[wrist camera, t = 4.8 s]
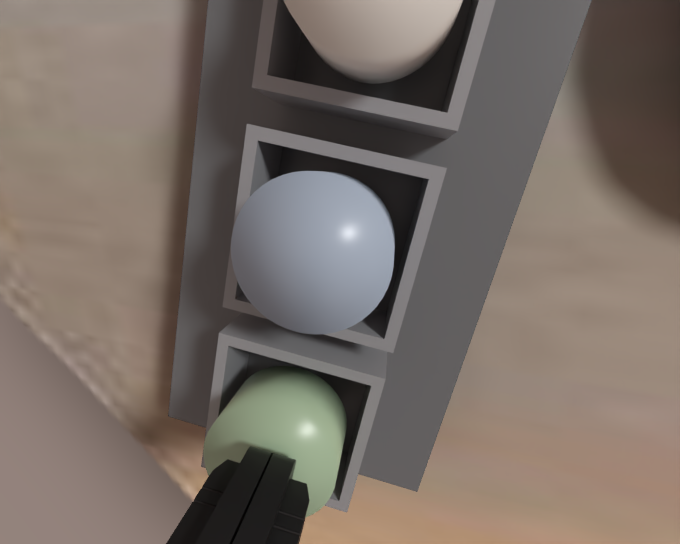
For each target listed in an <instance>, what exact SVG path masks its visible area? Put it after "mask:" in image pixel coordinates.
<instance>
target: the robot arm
mask: <svg viewBox="0 0 680 544" xmlns="http://www.w3.org/2000/svg"><path fill="white" fill-rule="evenodd" d="M295 464H296V460H295V459H292V458H288V457H285V456H282V455H279V454H275V453H274V454H273V453H272V452H268V451H265V450H262V449H259V448H255V447H252V446H250V447H249V448H248V450H247V451H246V453H245V455H244V457H243V459H242V460H241V462H240V463H238V462H235V461H232V460H229V459H227V460H226V461H224V462H223V463H222V464H220V465H219V466H218V467H216V468H215V469H214V470H213V471H212V472H211V474H210V475H209V477H208V479H207V480H206V482H205V483H204V485H203V487H202V489H201V490H200V491H199V493H198V494H197V496H196V498H195V500H194V502H192V504H191V506H190V507H189V509H188V510H187V512H186V513H185V515H184V517H183V518H182V520H181V521H180V523H179V525H178V526H177V528H176V529H175V531H174V532H173V534H172V536H171V537H170V539H169V540H168V542H167V543H166V544H299V541H300V537H301V533H302V529H303V525H304V521H305V517H306V513H307V509H308V505H309V501H310V500H309V494H308V487H307V484H306V483H303V482H300V481H297V480H293V479H292V478H293V473H294V469H295Z"/></svg>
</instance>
